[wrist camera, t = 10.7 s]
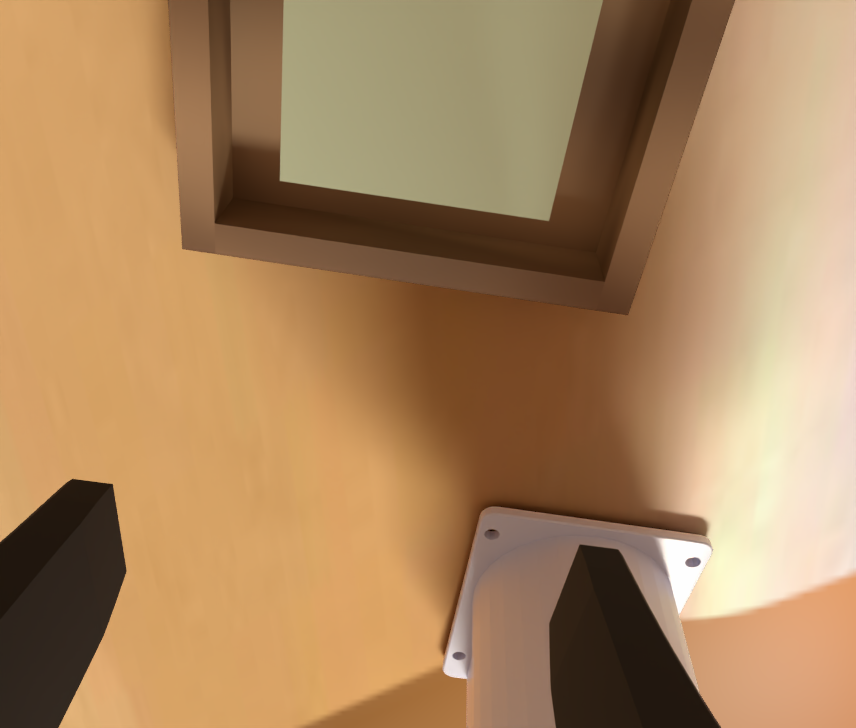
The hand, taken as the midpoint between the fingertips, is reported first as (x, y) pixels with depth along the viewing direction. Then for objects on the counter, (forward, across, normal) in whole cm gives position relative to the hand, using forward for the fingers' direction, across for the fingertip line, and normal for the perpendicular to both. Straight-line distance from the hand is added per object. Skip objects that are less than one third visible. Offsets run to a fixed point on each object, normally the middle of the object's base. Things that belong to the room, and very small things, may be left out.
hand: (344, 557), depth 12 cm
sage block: (+10, 0, -6) cm, 12 cm away
